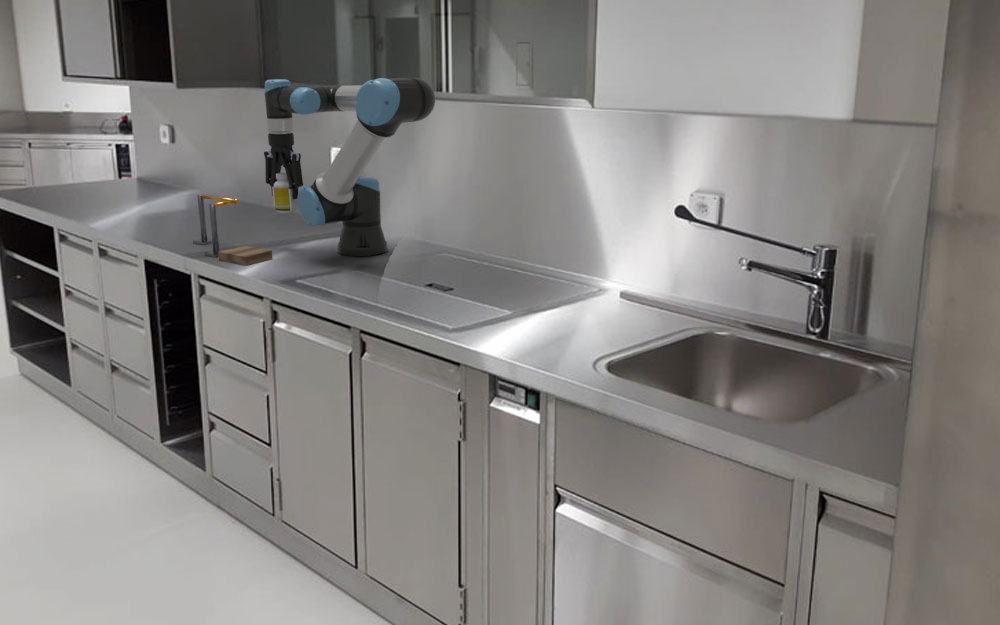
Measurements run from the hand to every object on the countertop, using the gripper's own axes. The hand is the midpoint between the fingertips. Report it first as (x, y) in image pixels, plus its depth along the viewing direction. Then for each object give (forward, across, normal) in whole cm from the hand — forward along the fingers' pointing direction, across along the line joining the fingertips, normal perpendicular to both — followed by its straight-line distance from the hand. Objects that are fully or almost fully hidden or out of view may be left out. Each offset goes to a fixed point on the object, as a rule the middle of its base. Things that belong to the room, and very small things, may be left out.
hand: (286, 208), depth 284 cm
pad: (+13, 0, +17) cm, 21 cm away
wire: (+13, +21, +13) cm, 28 cm away
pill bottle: (+1, 0, 0) cm, 1 cm away
